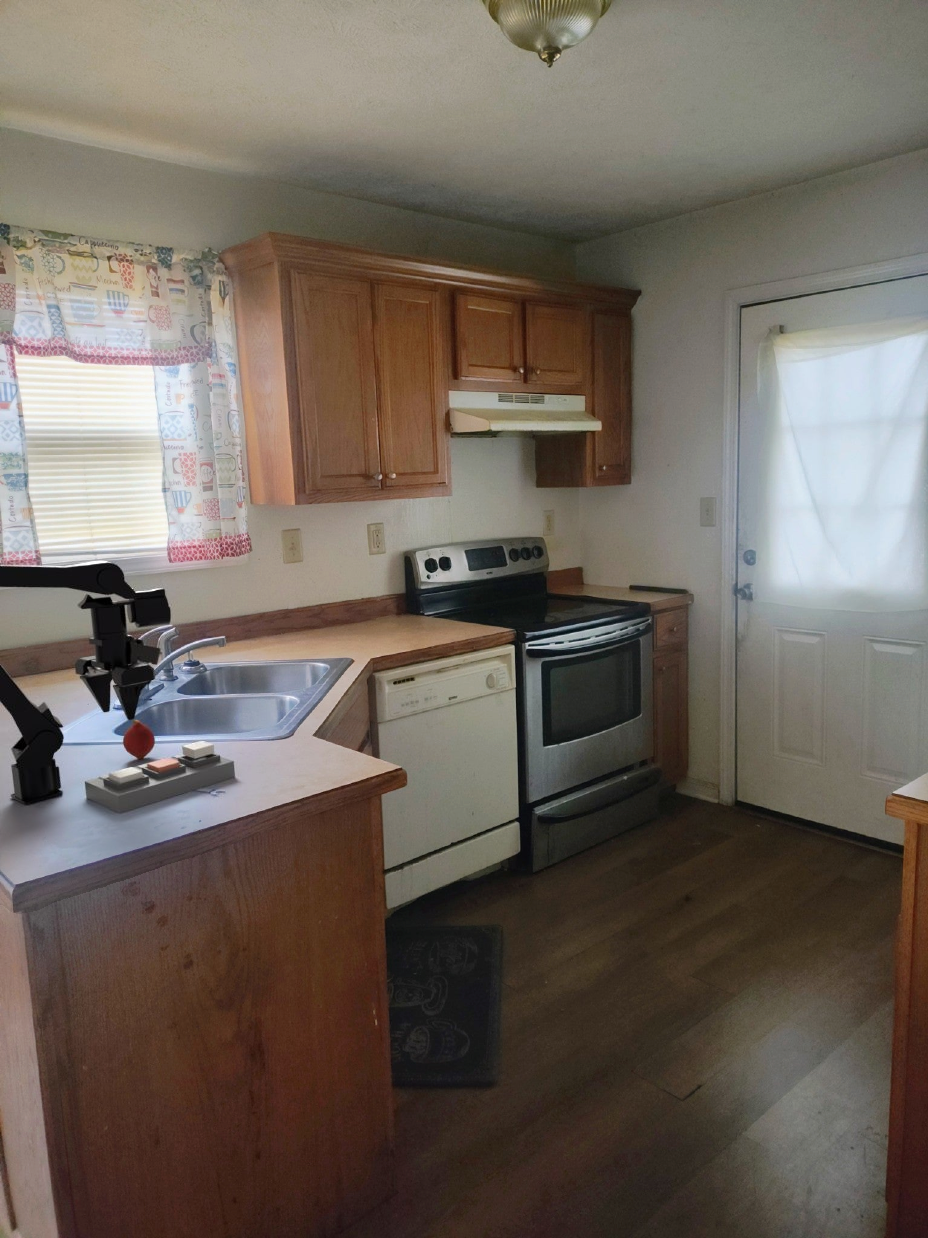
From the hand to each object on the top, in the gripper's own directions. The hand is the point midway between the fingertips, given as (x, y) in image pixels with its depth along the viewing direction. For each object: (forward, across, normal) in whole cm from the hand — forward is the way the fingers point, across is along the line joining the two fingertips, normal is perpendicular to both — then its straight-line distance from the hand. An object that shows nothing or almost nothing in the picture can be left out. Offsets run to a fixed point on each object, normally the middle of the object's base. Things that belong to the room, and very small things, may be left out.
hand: (118, 715), depth 156 cm
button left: (+9, -11, +5) cm, 15 cm away
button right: (+8, -11, -9) cm, 16 cm away
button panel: (+12, -10, -2) cm, 16 cm away
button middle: (+9, -11, -2) cm, 14 cm away
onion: (+12, +9, -8) cm, 17 cm away
